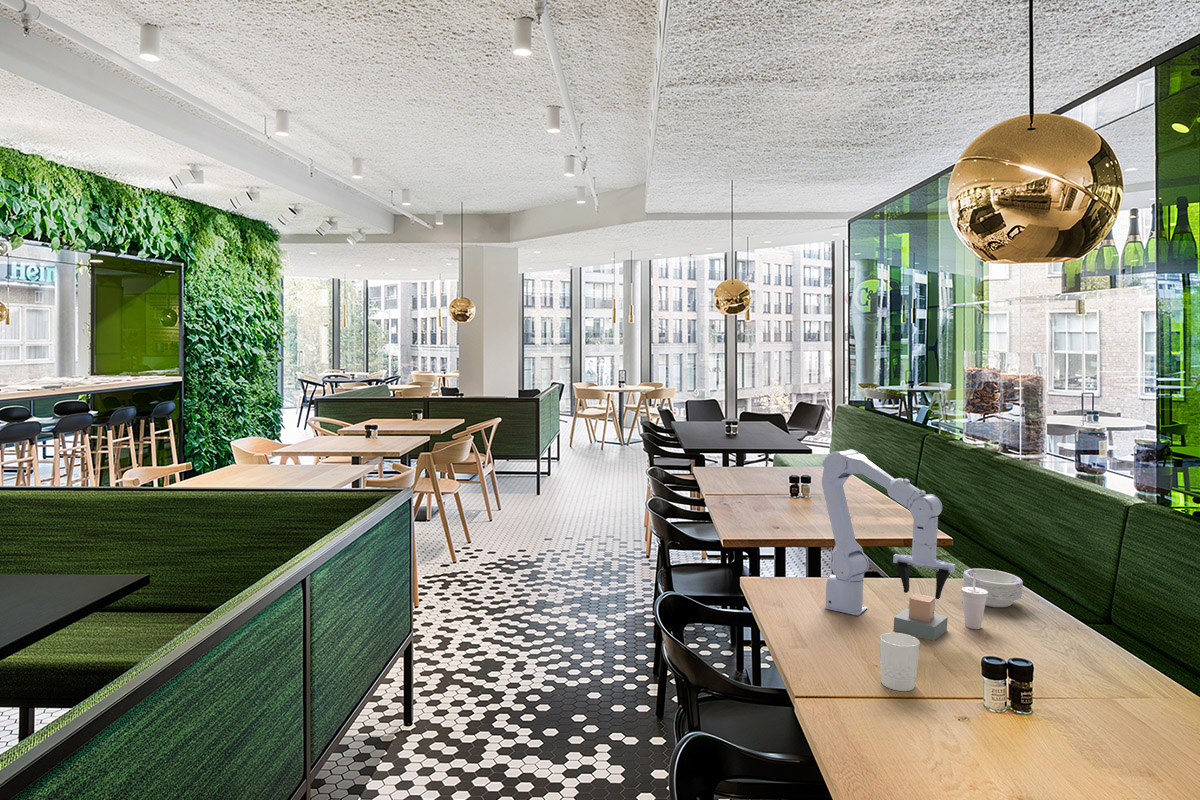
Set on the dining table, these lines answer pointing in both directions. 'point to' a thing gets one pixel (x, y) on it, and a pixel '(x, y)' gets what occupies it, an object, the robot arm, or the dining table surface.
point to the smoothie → (974, 605)
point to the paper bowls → (995, 586)
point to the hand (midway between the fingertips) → (921, 594)
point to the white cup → (898, 660)
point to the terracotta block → (921, 607)
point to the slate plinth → (920, 626)
